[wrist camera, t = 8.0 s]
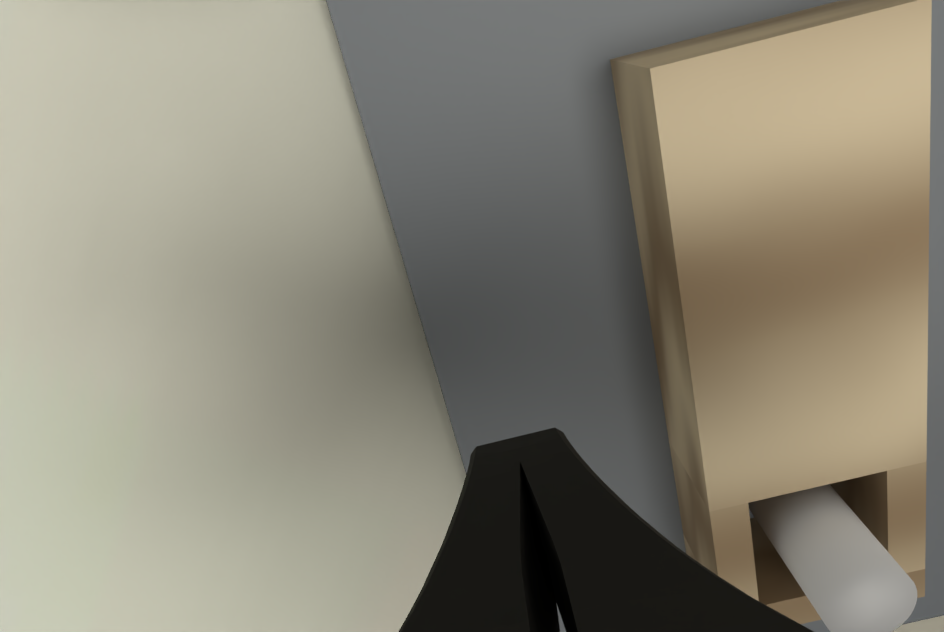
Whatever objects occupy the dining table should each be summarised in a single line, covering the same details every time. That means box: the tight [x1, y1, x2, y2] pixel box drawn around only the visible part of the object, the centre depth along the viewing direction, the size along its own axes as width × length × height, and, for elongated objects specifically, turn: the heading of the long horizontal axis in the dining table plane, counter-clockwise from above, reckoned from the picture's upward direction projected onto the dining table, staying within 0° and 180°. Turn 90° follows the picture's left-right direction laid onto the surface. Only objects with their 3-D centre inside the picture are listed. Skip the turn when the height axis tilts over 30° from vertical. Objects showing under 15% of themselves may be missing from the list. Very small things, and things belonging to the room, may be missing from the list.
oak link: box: [610, 0, 932, 624], centre depth 17 cm, size 14×5×3 cm, turn 14°
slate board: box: [326, 0, 944, 632], centre depth 16 cm, size 22×21×6 cm
